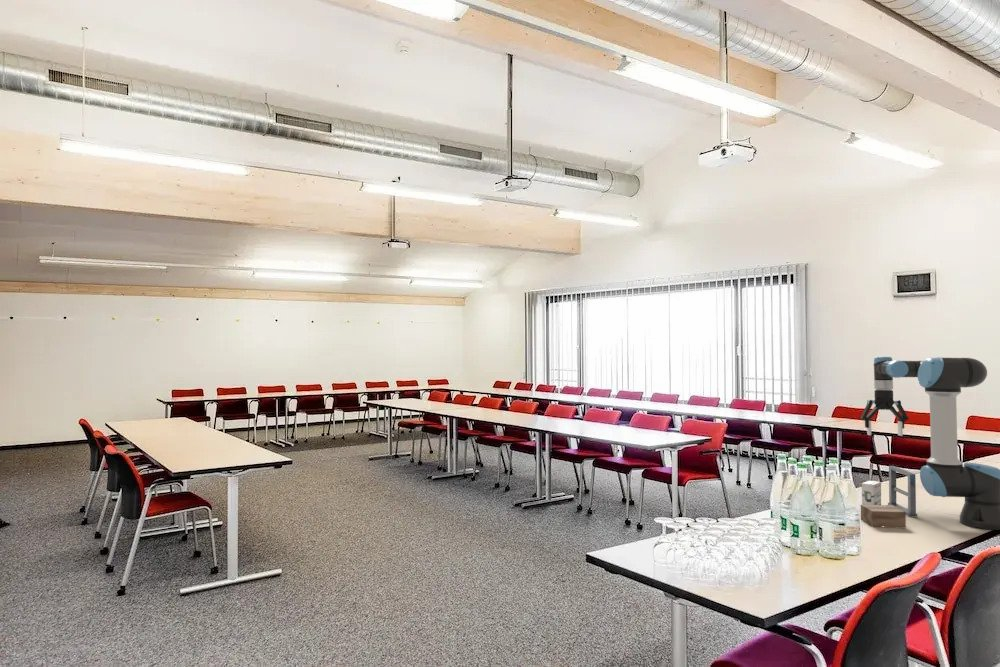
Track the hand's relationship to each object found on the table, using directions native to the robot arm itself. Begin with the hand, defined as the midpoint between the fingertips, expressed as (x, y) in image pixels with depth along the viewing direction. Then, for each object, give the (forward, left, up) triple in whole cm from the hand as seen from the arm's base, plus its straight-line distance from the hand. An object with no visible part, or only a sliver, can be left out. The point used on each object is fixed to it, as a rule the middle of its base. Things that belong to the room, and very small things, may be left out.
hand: (884, 435), depth 296 cm
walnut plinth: (-51, +24, -27) cm, 63 cm away
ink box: (-30, +19, -28) cm, 45 cm away
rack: (-30, +7, -27) cm, 42 cm away
